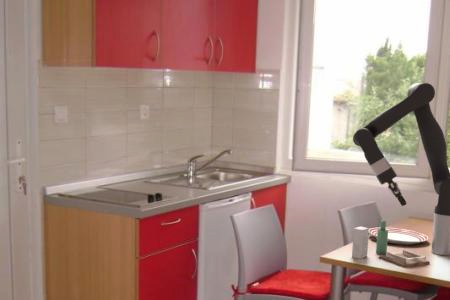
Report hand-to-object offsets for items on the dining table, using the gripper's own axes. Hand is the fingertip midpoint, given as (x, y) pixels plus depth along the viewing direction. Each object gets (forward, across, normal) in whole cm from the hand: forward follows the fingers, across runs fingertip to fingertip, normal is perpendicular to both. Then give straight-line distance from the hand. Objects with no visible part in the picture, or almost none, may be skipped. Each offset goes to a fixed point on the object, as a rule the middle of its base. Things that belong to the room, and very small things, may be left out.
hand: (404, 204), depth 248 cm
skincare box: (+9, -5, +27) cm, 29 cm away
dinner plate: (+15, +35, +12) cm, 40 cm away
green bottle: (+13, +5, +19) cm, 24 cm away
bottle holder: (+19, -5, +12) cm, 23 cm away
